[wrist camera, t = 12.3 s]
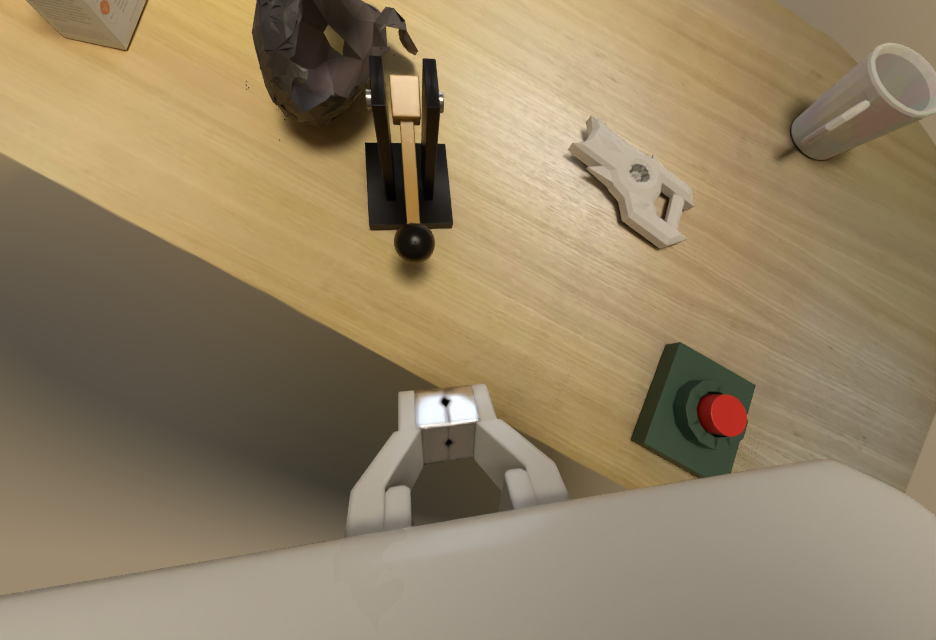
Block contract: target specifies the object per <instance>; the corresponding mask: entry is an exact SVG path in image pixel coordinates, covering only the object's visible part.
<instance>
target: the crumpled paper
mask: <svg viewBox="0 0 936 640" xmlns="http://www.w3.org/2000/svg"><path fill="white" fill-rule="evenodd" d="M402 11H403V10H402ZM328 25H329V26H331V27H332V28H333V29H334V30H335V31H336V32H337V33H338V34H339V35H340V36H341V37H342V38H343V39H344V40H345V41H344V48H343V55H341V54H340V53H338V52H337V51H336V50H334V49H333V48H332V47H331V46H330V44H329V42H328V40H327V38H326V37H325V35H324V33H323V32H324V30H325V29H326V27H327V26H328ZM386 26H388V27H393V28H398V29H399V36H400V38H399V39H400V41H401V43H402V45H403V46H404V47H405V48H406V49H407V51H408V52H410V53H412V54H413V55H416V53H417V52H418V50H417V48H416V46H415V45H414V43H413V41H412V39H411V38H410V36H409V34H408V32H407V29H406V24H405V20H404V19H403V18H402V17H401V16H400V15H399V14H398V13H397V12H396V10H395V9H394V8H390V7H385V8H384V10H383V11H382V13H381V12H380V11H379V10H378V9H377V8H375V7H374V6H372V5H370V4H367V3H365V2H363V1H362V0H257V4H256V9H255V16H254V22H253V29H252V35H253V40H254V45H255V50H256V53H257V57H258V61H259V64H260V69H261V72H262V75H263V79H264V83H265V86H266V88H267V91H268V93H269V95H270V97H271V99H272V101H273V102H274V103H275V104H276V105H278V106H279V108H280V109H281V111H282V112H283V114H284V115H285V116H287V117H293V118H294V119H295V120H296V121H297V122H299V123H304V124H310V125H316V126H319V125H327V124H329V123H330V122H332V121H333V120H334V119H335V118H336V117H337V116H338V114H339V115H340V114H341V113H342V112H343V111H344V110H345V109H347V108H348V107H349V106H350V105H351V104H352V103H353V102H354V101H355V99H356V98H357V97H358V96H359V94H360V93H361V92H362V91H363V89H364V88H365V87H366V85H367V83H368V81H369V79H370V72H369V55H376V56H382V58H383V57H384V56H385V54H386V53H387V52H388V50H389V49H390V48H389V47H387V38H386ZM393 55H394V54H393ZM394 56H395V55H394ZM412 58H413V57H412ZM246 82H247V81H246ZM246 87H247V85H246ZM248 88H249V87H248ZM246 90H247V89H246ZM276 110H277V109H276ZM278 110H279V109H278ZM336 115H337V116H336ZM334 116H336V117H334ZM333 117H334V118H333ZM285 119H286V118H285ZM285 119H284V120H285ZM279 141H280V140H279Z"/></svg>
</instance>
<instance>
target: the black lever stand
mask: <svg viewBox="0 0 936 640" xmlns="http://www.w3.org/2000/svg"><path fill="white" fill-rule="evenodd" d="M369 72H370V89H365V97H366V105H367V110H368V111H372V112H373V118H374V125H375V131H376V137H377V143H365V152H366V171H367V191H368V211H369V226H370V229H371V230H394V229H399V228H400V227H401V226H402V225H404V224H406V223H407V216H406V202H405V188H404V174H403V160H402V146H401V143H391V133H390V124H389V115H388V105H387V96H386V86H385V77H384V68H383V58H382V56H376V55H369ZM443 111H444V96H443V93H442V92H439V88H438V78H437V68H436V60H435V59H426V58H423V69H422V132H421V143H415V150H416V167H417V183H418V200H419V216H420V223H422V224H424V225H425V226H427V227H428V228H429V229H433V228H452V225H453V218H452V208H451V198H450V188H449V178H448V168H447V158H446V149H445V144H438V131H439V119H440V113H443Z"/></svg>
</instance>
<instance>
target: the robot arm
mask: <svg viewBox="0 0 936 640" xmlns="http://www.w3.org/2000/svg"><path fill="white" fill-rule="evenodd" d="M414 397H415V398H414ZM467 458H474V460H475V461H476V462H477V463H478V465H479V466H480V467H481V468H482V469H483V470H484V472H485V473H486V474H487V475H488V476H489V477H490V479H491V480H492V481H493V482H494V483H495V484H496V486H497V487H498V488H499V489H500V490H501V491H502V494H501V500H500V506H499V512H496V513H490V514H485V515H479V516H473V517H467V518H461V519H455V520H449V521H443V522H437V523H431V524H426V525H419V526H414V522H413V512H412V504H411V495H410V493H411V491H412V489H413V486H414V485H415V482H416V481H417V479H418V476H419V475H420V472H421V471H422V469H423V467H424V465H425V464H431V463H436V462H443V461H449V460H458V459H467ZM0 640H936V515H934V514H933V513H931V512H930V511H929V510H927V509H926V508H925V507H923V506H922V505H921V504H919V503H918V502H917V501H915V500H914V499H912V498H911V497H909V496H908V495H906V494H905V493H903V492H901V491H899V490H897V489H895V488H893V487H891V486H889V485H887V484H885V483H883V482H881V481H879V480H877V479H875V478H872V477H870V476H868V475H866V474H864V473H862V472H860V471H858V470H855V469H853V468H851V467H849V466H846V465H844V464H841V463H839V462H836V461H834V460H830V459H813V460H807V461H801V462H795V463H789V464H783V465H777V466H771V467H765V468H759V469H753V470H747V471H741V472H735V473H729V474H723V475H717V476H711V477H705V478H699V479H693V480H688V481H682V482H676V483H670V484H664V485H658V486H652V487H646V488H640V489H634V490H628V491H622V492H616V493H610V494H604V495H598V496H592V497H586V498H580V499H574V500H570V497H569V495H568V492H567V490H566V488H565V485H564V483H563V481H562V478H561V476H560V474H559V471H558V469H557V467H556V465H555V462H554V461H552V460H551V459H550V458H549V457H547V456H546V455H545V454H544V453H542V452H541V451H540V450H539V449H538V448H536V447H535V446H534V445H533V444H531V443H530V442H529V441H528V440H527V439H525V438H524V437H523V436H522V435H520V434H519V433H518V432H517V431H515V430H514V429H513V428H512V427H511V426H509V425H508V424H507V423H506V422H504V421H503V420H502V419H497V417H496V414H495V411H494V408H493V405H492V402H491V398H490V395H489V392H488V389H487V386H486V384H485V383H482V384H473V385H464V386H455V387H446V388H438V389H425V390H414V391H404V392H399V394H398V431H396V432H393V434H392V435H391V436H390V438H389V439H388V440H387V442H386V443H385V445H384V446H383V447H382V449H381V450H380V452H379V453H378V454H377V456H376V457H375V458H374V460H373V461H372V462H371V464H370V465H369V467H368V468H367V470H366V471H365V472H364V474H363V475H362V476H361V478H360V479H359V481H358V482H357V483H356V485H355V486H354V487H353V489H352V490H351V491H350V500H349V507H348V515H347V522H346V530H345V538H342V539H335V540H329V541H324V542H317V543H312V544H305V545H300V546H294V547H288V548H282V549H276V550H270V551H264V552H258V553H252V554H246V555H240V556H234V557H228V558H222V559H216V560H210V561H204V562H198V563H192V564H186V565H180V566H174V567H168V568H162V569H156V570H150V571H144V572H138V573H132V574H126V575H120V576H114V577H108V578H102V579H96V580H90V581H84V582H78V583H72V584H66V585H60V586H54V587H48V588H42V589H36V590H30V591H24V592H18V593H12V594H6V595H0Z"/></svg>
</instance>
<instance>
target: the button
mask: <svg viewBox="0 0 936 640" xmlns="http://www.w3.org/2000/svg"><path fill="white" fill-rule="evenodd" d="M697 415H698V420H699V422H700V424H701V425H702V427H703V428H704V429H705V430H707V431H708V432H710V433H712V434H717V435H723V436H729V437H734V436H737V435H739V434H741V433H742V432H743V431H744V429H745V427H746V424H747V414H746V411H745V408H744V406H743V405H742V403H741V402H740V401H739V400H738V399H737V398H735V397H733V396H731V395H724V394H709V395H706V396H704V397H703V398H702V399H701V400H700V401H699V403H698V407H697Z"/></svg>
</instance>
